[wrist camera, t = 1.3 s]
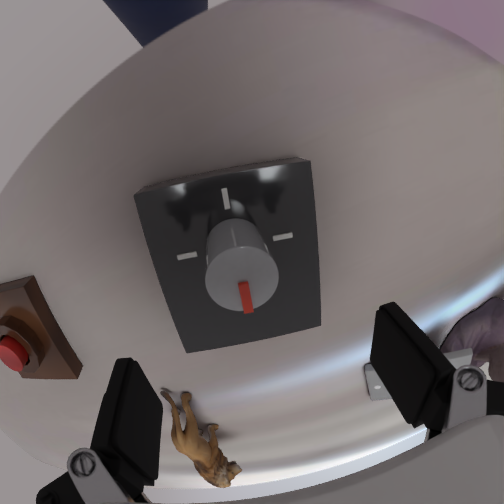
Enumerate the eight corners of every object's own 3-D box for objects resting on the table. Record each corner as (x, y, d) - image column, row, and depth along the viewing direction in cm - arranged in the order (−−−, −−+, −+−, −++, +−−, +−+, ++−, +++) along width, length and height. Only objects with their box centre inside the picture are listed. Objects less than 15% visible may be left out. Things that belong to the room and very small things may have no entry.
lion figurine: (240, 433, 35) (248, 486, 26) (209, 442, 35) (213, 493, 27) (178, 381, 29) (176, 449, 20) (143, 393, 29) (135, 456, 21)
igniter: (-17, 288, 21) (-35, 306, 17) (33, 275, 21) (14, 296, 18) (28, 367, 26) (17, 387, 22) (83, 365, 26) (73, 391, 23)
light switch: (363, 377, 30) (474, 359, 23) (366, 340, 35) (466, 324, 28) (369, 406, 34) (464, 393, 27) (372, 374, 38) (459, 360, 32)
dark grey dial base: (143, 186, 20) (132, 195, 17) (297, 156, 21) (311, 160, 18) (187, 332, 26) (186, 354, 23) (311, 307, 27) (321, 326, 24)
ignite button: (-2, 335, 19) (-9, 345, 18) (17, 334, 20) (9, 344, 18) (15, 361, 21) (9, 371, 19) (34, 361, 21) (28, 372, 19)
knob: (200, 224, 19) (196, 257, 14) (259, 213, 19) (275, 241, 14) (212, 276, 20) (214, 320, 16) (266, 265, 21) (284, 306, 16)
